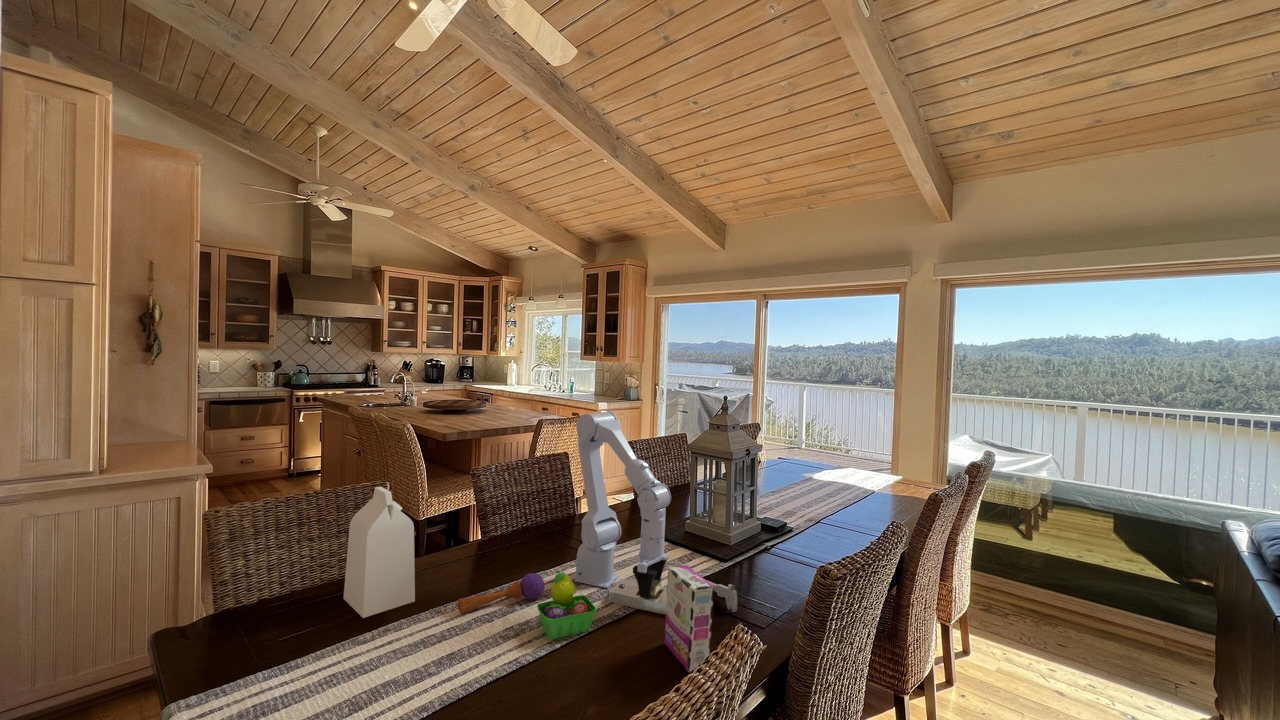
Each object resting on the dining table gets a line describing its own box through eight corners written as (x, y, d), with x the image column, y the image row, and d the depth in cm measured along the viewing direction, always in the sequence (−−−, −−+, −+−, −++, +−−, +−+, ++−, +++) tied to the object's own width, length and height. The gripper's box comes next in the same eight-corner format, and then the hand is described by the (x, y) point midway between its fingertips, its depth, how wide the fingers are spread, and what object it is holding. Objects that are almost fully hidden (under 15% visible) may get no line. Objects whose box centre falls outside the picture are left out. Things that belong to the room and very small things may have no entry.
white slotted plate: (608, 601, 130) (609, 590, 130) (621, 588, 137) (621, 577, 137) (680, 618, 124) (681, 606, 124) (689, 602, 131) (689, 591, 131)
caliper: (737, 613, 128) (738, 587, 127) (733, 614, 127) (734, 588, 127) (691, 578, 146) (692, 555, 146) (687, 578, 145) (689, 555, 145)
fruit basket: (545, 644, 110) (548, 590, 110) (533, 623, 118) (535, 573, 118) (597, 633, 116) (599, 581, 115) (582, 614, 123) (584, 565, 123)
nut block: (638, 604, 129) (639, 584, 129) (644, 597, 133) (645, 577, 133) (654, 608, 128) (655, 587, 128) (659, 601, 132) (660, 581, 131)
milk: (343, 598, 125) (346, 488, 125) (393, 583, 134) (397, 480, 133) (362, 618, 117) (366, 500, 116) (414, 601, 126) (418, 491, 125)
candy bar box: (711, 669, 105) (715, 586, 104) (688, 674, 103) (692, 589, 102) (684, 639, 115) (687, 563, 114) (663, 643, 113) (666, 566, 112)
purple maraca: (455, 590, 124) (537, 568, 134) (457, 616, 123) (540, 592, 134) (461, 596, 119) (546, 572, 129) (463, 624, 118) (549, 598, 129)
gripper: (659, 548, 122) (656, 607, 122) (676, 528, 135) (674, 581, 136) (630, 543, 124) (627, 600, 125) (650, 524, 138) (647, 576, 138)
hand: (649, 590), depth 130 cm, fingers open, 7 cm apart
